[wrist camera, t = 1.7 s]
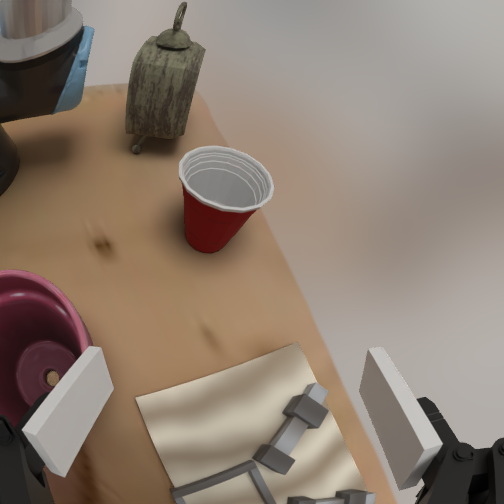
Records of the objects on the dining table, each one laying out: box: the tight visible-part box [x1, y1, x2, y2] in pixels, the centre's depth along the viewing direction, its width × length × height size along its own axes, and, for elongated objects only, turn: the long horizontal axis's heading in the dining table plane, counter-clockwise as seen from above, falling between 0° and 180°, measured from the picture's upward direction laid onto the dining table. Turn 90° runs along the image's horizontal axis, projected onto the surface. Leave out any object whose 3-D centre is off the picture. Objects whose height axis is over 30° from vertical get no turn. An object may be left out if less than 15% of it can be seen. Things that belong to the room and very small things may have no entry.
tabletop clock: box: [126, 2, 205, 154], centre depth 39 cm, size 14×9×25 cm, turn 3°
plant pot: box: [0, 270, 93, 428], centre depth 20 cm, size 14×14×13 cm
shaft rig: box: [136, 342, 376, 504], centre depth 24 cm, size 30×20×4 cm
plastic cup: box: [179, 146, 274, 253], centre depth 37 cm, size 11×11×12 cm
